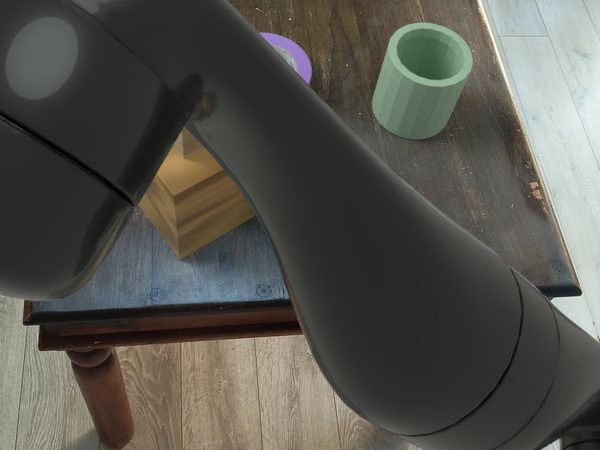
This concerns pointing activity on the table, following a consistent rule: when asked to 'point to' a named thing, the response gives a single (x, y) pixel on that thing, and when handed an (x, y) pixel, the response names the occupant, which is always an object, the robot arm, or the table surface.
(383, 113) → the jar
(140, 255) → the table surface
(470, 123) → the table surface
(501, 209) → the table surface
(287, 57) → the tape roll
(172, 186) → the stand
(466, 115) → the table surface
